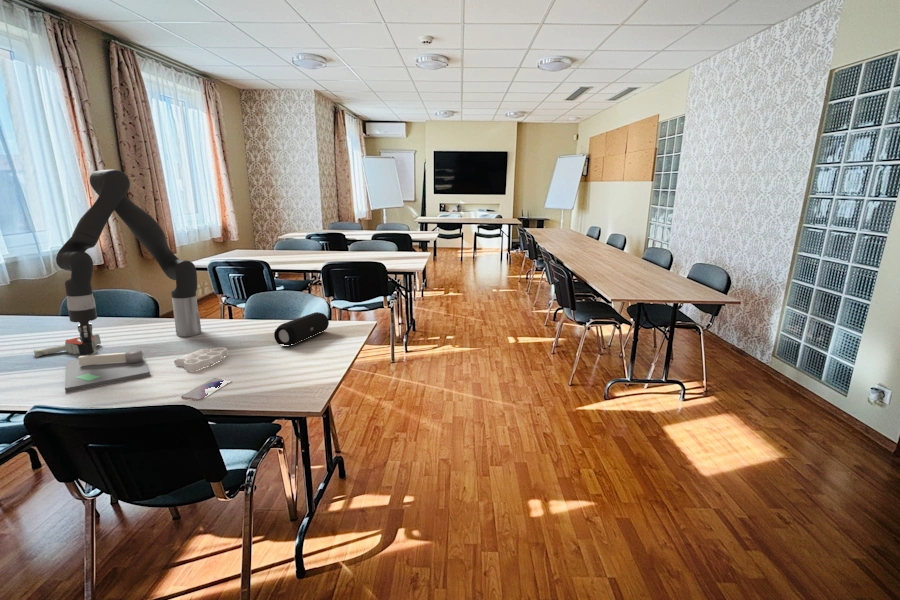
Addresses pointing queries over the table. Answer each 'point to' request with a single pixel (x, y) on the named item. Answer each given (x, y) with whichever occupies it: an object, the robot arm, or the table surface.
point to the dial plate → (102, 374)
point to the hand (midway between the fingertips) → (89, 353)
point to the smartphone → (202, 390)
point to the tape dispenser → (70, 347)
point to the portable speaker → (301, 328)
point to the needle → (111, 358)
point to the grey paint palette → (201, 358)
